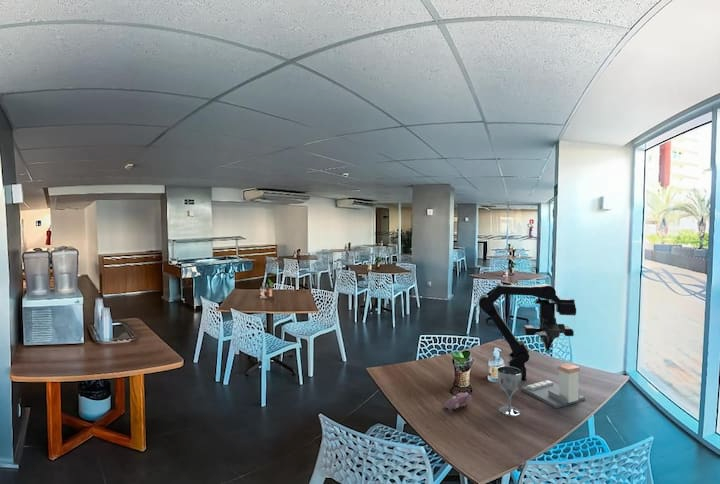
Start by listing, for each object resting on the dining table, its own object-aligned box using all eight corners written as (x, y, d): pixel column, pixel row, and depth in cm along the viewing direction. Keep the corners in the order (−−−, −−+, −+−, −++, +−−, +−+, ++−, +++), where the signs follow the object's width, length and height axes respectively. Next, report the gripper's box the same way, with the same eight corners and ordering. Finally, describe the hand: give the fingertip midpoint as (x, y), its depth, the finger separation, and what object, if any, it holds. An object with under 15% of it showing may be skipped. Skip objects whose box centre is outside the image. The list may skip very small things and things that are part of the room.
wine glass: (520, 407, 132) (520, 367, 131) (522, 418, 124) (522, 375, 123) (497, 404, 134) (497, 364, 133) (498, 415, 127) (497, 373, 126)
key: (557, 397, 135) (557, 365, 134) (568, 394, 137) (568, 362, 136) (568, 403, 131) (568, 369, 130) (579, 400, 133) (579, 366, 132)
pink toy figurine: (449, 416, 130) (455, 402, 127) (442, 405, 133) (447, 392, 130) (469, 408, 135) (475, 395, 132) (461, 399, 138) (467, 386, 135)
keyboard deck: (521, 390, 145) (521, 382, 145) (548, 383, 151) (548, 375, 150) (557, 409, 130) (557, 400, 130) (586, 400, 135) (586, 392, 135)
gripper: (529, 318, 145) (529, 356, 146) (579, 319, 142) (579, 358, 143) (521, 312, 156) (521, 347, 157) (568, 312, 153) (568, 348, 154)
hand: (547, 350), depth 153 cm, fingers closed
